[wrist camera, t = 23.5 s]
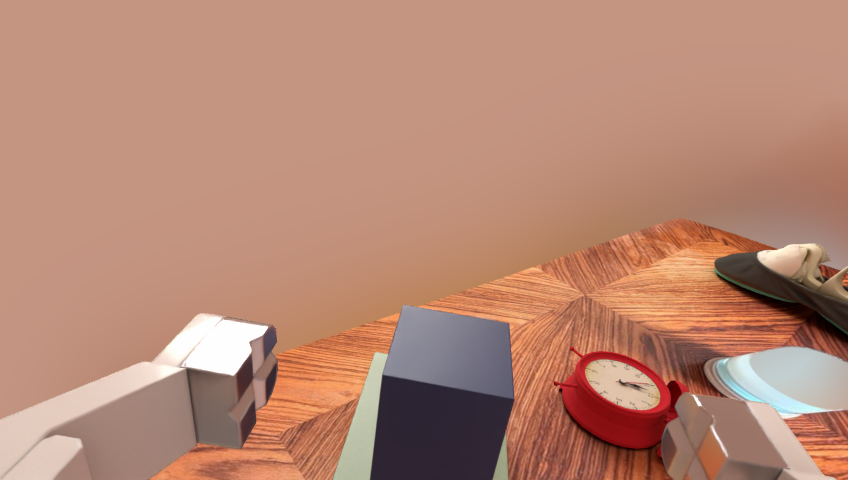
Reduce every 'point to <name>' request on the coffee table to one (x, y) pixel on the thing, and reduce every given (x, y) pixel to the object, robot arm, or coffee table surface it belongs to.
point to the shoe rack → (360, 439)
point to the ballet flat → (791, 278)
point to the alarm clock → (620, 399)
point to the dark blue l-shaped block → (443, 398)
